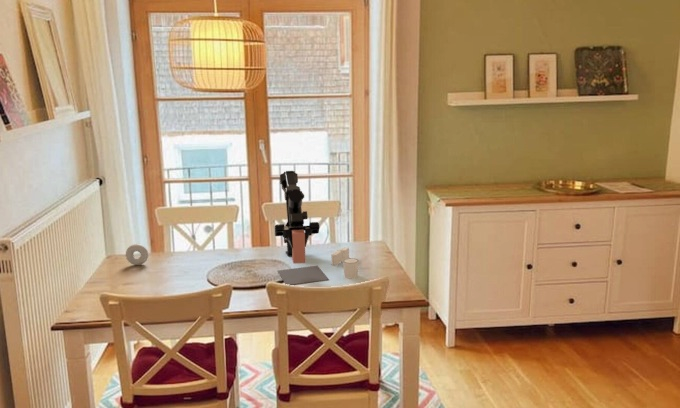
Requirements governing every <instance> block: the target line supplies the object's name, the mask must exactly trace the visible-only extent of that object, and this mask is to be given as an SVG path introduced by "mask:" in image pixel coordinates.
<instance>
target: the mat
mask: <svg viewBox="0 0 680 408" xmlns="http://www.w3.org/2000/svg"><path fill="white" fill-rule="evenodd" d="M277 272H278V275H279V274H280V275H279V277H281V280H282V281H283V282H284V284H285V285H286V284H290V285H289V286H295V285H303V284H312V283H319V282H325V281H326V282H327V281H330V279H329V277H328V276H327V275H326V274H325V273H324V272H323V270H322V269H321V268H320V267H319V265H310V266H303V267H302V266H301V267H296V268H295V267H293V268H287V269H281V270H280V269H279V270H277Z"/></svg>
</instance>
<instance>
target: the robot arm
mask: <svg viewBox="0 0 680 408" xmlns="http://www.w3.org/2000/svg"><path fill="white" fill-rule="evenodd" d="M298 182H299V175H298V173H297V172H295V171H294V170H285V171H283V173H281V174H279V185H281V189H282V191H283V193H284V195H283V196H284V201H285V207H286V218H287V220H286V224H285V223H283V224H275V225H274V236H275V237H283V243H284V244H286V250H287V251H286V250H285V251H284V252H285V255H287V256H288V257H292V248H293V243H292V230H304V232H305V248H307V244H308V239H309V236H312V235H315V234H316V235H317V234H319V233H320V222H319V221H312V222H310V221H309V225H304V224H305V220H308V211H303V210H302V205H303V200H304V199H305V194H304V193H303V191H302V190H301V188H300V186H297V184H298Z"/></svg>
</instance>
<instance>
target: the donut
mask: <svg viewBox="0 0 680 408" xmlns="http://www.w3.org/2000/svg"><path fill="white" fill-rule="evenodd" d="M135 252H138V253H139V254H140V256H139V257H136V256H134V253H135ZM125 257H126V260H127V261H128V263H130V264H131V265H133V266H142V265H143V264H145V263H146V262H147V261H148V259H149V252H148V249H147V248H146V247H145V246H144V245H143V244H140V243H134V244H131V245H129V247H127V248H126V251H125Z"/></svg>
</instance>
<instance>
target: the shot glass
mask: <svg viewBox="0 0 680 408" xmlns="http://www.w3.org/2000/svg"><path fill="white" fill-rule="evenodd" d="M359 263H360V260H359V259H358V258H353V257H352V258H350V257H349V258H348V259H344V260H343V261H342V264H343V265H342V266H343V273H344V276H343V277H344V278H345V279H349V280H352V279H353V280H354V279H357V278H359V277H358V276H359V266H360V264H359Z"/></svg>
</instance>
